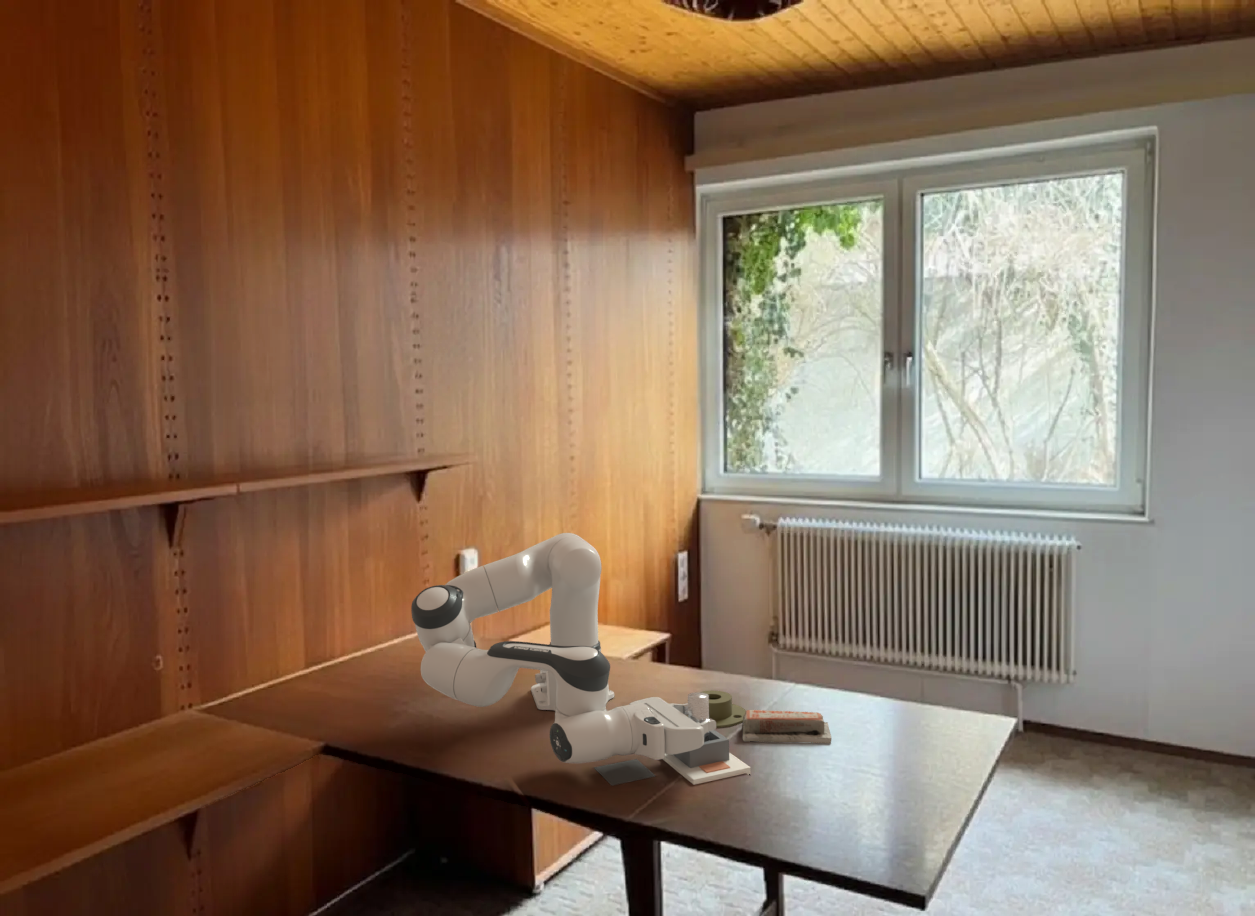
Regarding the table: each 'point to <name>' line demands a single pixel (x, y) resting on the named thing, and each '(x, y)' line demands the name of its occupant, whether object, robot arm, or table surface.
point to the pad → (624, 772)
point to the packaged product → (785, 727)
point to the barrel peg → (699, 709)
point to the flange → (723, 709)
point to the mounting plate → (708, 761)
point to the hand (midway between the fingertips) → (702, 715)
